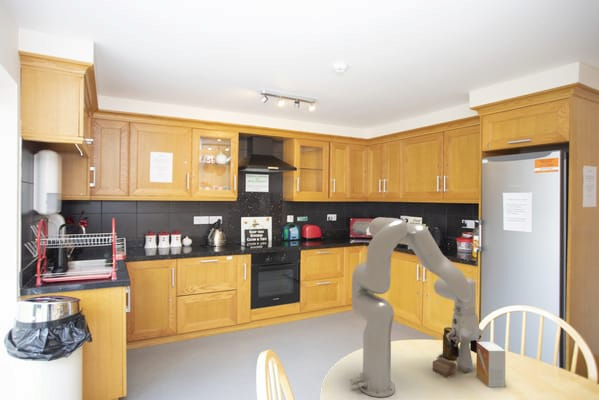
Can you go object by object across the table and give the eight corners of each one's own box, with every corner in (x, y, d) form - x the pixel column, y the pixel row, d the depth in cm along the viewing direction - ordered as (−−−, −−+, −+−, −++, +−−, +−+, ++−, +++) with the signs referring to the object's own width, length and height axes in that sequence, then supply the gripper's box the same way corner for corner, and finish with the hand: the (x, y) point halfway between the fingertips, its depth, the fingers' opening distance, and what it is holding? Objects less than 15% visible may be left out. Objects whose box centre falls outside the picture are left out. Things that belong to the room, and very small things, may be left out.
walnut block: (446, 378, 129) (446, 367, 129) (432, 371, 134) (432, 361, 134) (456, 374, 132) (456, 363, 132) (442, 367, 137) (442, 357, 137)
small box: (475, 376, 130) (476, 341, 130) (492, 375, 130) (492, 341, 131) (488, 387, 122) (488, 350, 122) (505, 387, 122) (506, 350, 122)
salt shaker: (474, 374, 132) (474, 339, 132) (458, 372, 133) (458, 338, 133) (470, 366, 137) (470, 334, 137) (454, 365, 138) (455, 333, 138)
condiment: (462, 357, 145) (462, 329, 146) (453, 364, 139) (454, 334, 140) (444, 352, 151) (444, 324, 151) (436, 358, 145) (436, 329, 145)
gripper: (455, 315, 129) (454, 361, 129) (489, 310, 135) (489, 354, 135) (440, 309, 136) (440, 352, 136) (473, 305, 142) (473, 346, 142)
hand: (464, 353), depth 135 cm, fingers open, 9 cm apart
